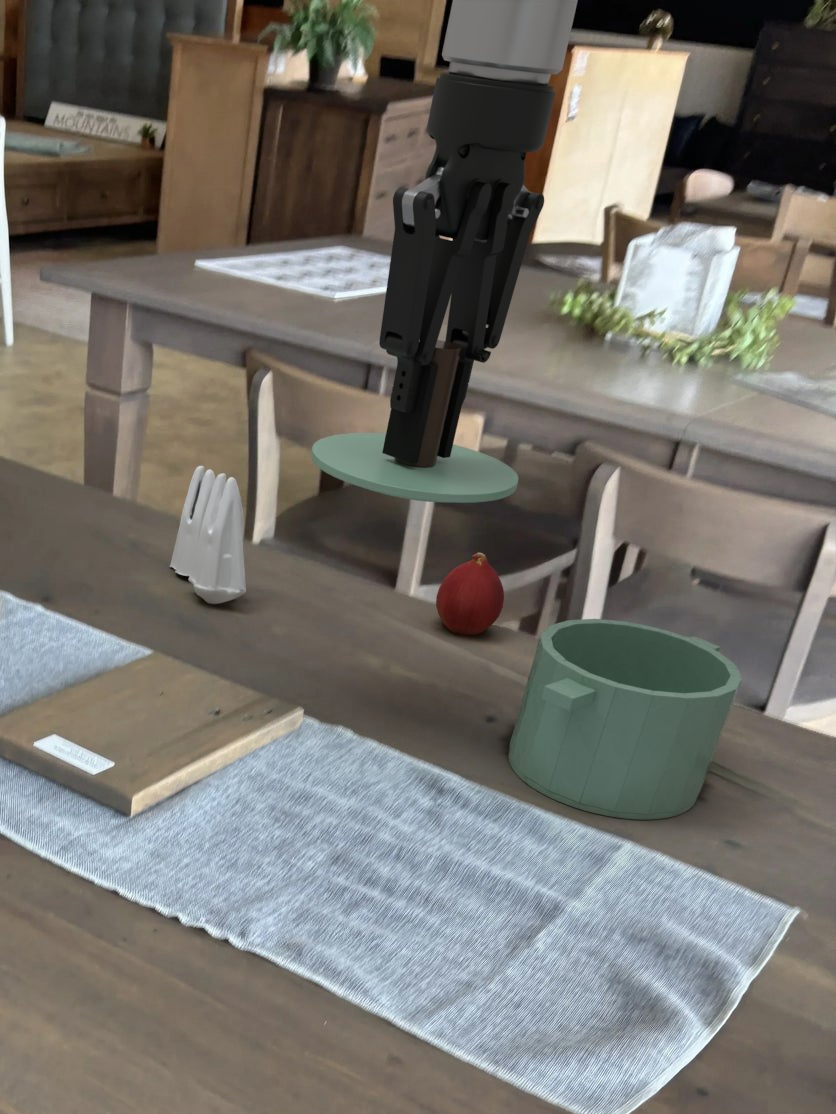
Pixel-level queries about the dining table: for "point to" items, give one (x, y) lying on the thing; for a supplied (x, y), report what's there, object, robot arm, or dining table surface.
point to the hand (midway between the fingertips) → (416, 454)
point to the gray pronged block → (212, 538)
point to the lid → (432, 475)
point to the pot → (622, 717)
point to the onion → (470, 597)
